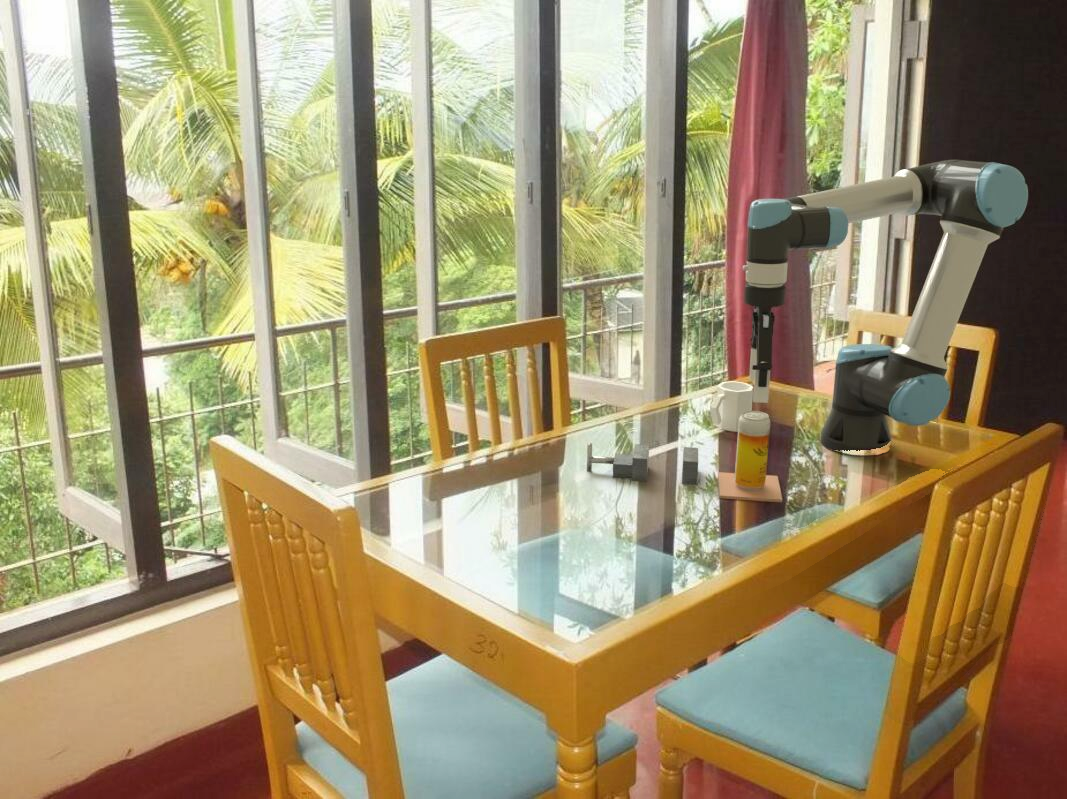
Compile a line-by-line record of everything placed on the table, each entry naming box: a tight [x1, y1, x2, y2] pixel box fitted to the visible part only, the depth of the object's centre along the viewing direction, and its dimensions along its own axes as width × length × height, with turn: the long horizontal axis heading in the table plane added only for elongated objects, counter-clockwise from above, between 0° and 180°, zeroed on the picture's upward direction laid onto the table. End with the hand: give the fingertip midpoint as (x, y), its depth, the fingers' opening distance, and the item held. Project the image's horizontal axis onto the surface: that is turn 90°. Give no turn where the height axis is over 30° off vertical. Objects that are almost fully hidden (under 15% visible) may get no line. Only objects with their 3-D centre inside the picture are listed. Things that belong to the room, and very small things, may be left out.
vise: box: [586, 442, 699, 486], centre depth 197 cm, size 23×8×6 cm, turn 81°
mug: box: [709, 380, 754, 433], centre depth 223 cm, size 12×9×10 cm
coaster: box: [717, 471, 783, 503], centre depth 190 cm, size 12×12×1 cm
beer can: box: [734, 410, 771, 490], centre depth 188 cm, size 6×6×15 cm
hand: (758, 391), depth 184 cm, fingers open, 13 cm apart
